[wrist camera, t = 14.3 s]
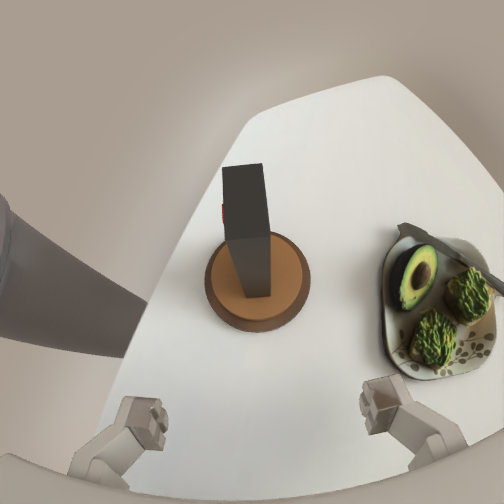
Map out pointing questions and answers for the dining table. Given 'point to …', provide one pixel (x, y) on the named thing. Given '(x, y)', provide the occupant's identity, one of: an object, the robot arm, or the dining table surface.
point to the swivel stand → (265, 324)
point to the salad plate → (437, 305)
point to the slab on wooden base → (252, 251)
